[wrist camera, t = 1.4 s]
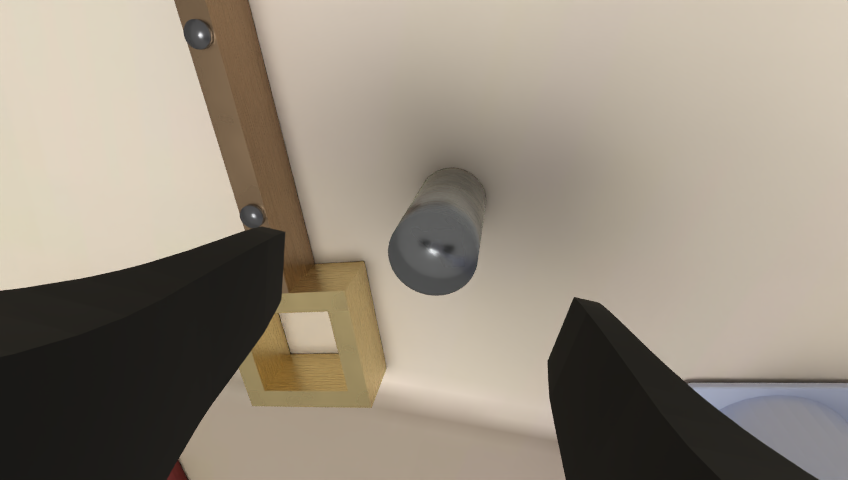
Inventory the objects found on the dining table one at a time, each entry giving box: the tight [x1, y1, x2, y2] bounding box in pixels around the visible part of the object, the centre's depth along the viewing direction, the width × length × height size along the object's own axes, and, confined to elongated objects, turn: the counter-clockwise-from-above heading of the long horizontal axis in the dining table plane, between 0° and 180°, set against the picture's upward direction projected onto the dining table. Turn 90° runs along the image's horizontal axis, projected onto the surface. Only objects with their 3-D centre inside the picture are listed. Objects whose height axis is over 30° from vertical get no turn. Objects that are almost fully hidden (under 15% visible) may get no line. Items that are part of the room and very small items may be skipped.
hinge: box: [174, 0, 386, 408], centre depth 22 cm, size 22×22×3 cm
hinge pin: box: [388, 168, 486, 296], centre depth 18 cm, size 3×3×6 cm
